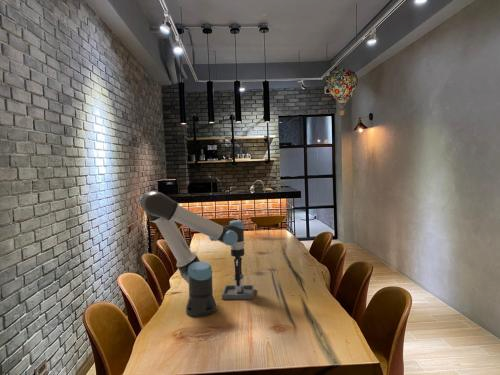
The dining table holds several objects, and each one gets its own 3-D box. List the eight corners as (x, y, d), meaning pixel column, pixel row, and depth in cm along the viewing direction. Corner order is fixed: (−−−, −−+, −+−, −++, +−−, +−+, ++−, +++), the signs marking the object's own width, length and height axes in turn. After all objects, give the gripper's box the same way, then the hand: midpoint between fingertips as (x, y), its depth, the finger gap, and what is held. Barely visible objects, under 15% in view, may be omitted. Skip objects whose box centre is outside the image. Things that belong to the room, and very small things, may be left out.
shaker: (234, 294, 204) (233, 276, 204) (235, 291, 209) (234, 273, 209) (243, 294, 204) (243, 276, 203) (244, 291, 209) (244, 273, 208)
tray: (222, 299, 199) (221, 294, 199) (225, 289, 215) (225, 285, 215) (252, 299, 198) (252, 294, 198) (254, 289, 214) (254, 285, 214)
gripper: (243, 252, 196) (244, 295, 197) (245, 244, 214) (246, 284, 215) (228, 252, 196) (230, 295, 198) (232, 245, 214) (234, 284, 216)
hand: (239, 289), depth 207 cm, fingers closed on shaker, 5 cm apart
